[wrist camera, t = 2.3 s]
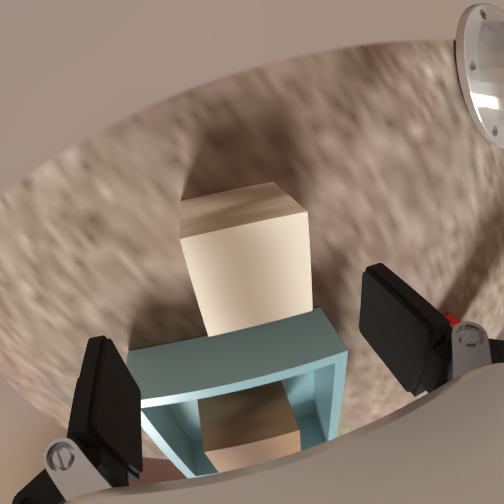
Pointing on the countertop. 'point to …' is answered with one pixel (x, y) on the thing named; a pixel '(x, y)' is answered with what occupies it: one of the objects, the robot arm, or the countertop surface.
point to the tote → (240, 381)
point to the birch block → (247, 256)
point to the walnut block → (248, 427)
